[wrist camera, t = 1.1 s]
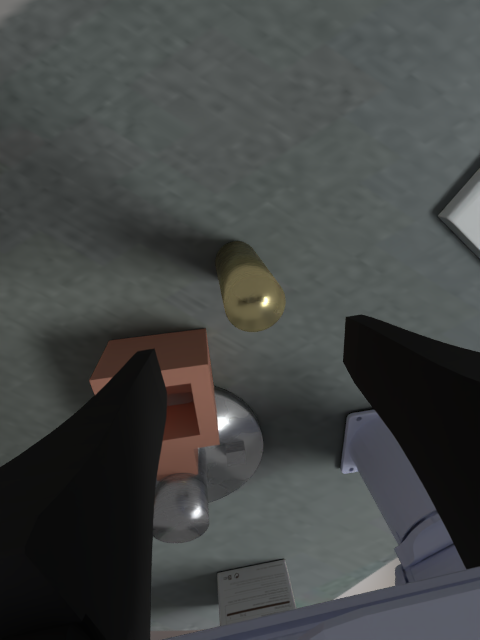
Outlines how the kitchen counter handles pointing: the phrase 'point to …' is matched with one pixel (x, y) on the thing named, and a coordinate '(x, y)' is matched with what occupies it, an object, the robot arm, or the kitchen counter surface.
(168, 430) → the bracket
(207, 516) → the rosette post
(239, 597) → the supplement box
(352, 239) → the kitchen counter surface
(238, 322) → the gold capsule
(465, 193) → the external hard drive
